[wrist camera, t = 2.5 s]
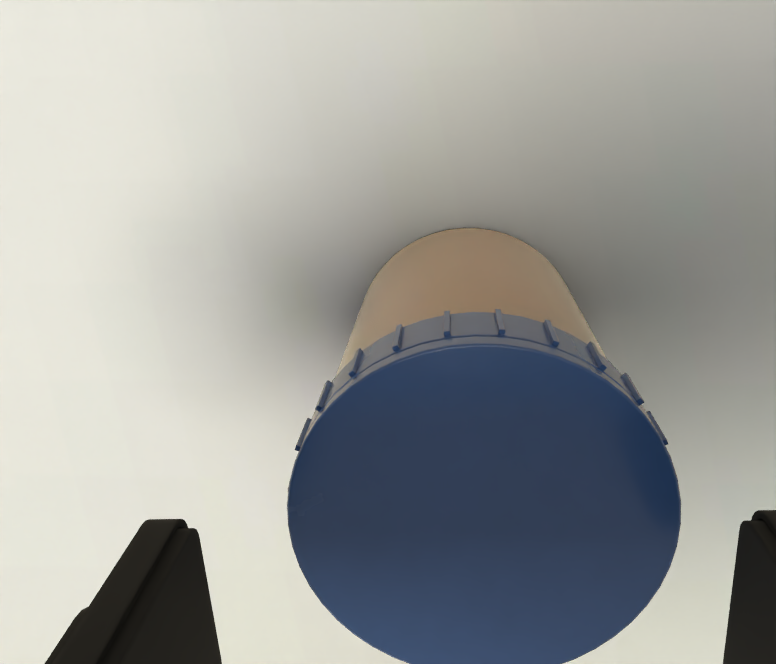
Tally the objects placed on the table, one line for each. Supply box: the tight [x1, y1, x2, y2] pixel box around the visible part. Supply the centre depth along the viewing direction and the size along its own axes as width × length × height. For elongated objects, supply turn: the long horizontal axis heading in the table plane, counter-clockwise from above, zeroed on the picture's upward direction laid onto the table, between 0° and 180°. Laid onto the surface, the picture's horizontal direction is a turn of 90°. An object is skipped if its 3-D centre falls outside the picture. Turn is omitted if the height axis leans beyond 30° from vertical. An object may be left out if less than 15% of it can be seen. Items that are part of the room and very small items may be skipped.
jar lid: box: [287, 309, 681, 664], centre depth 13 cm, size 7×7×2 cm
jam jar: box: [335, 228, 607, 377], centre depth 18 cm, size 7×7×9 cm
